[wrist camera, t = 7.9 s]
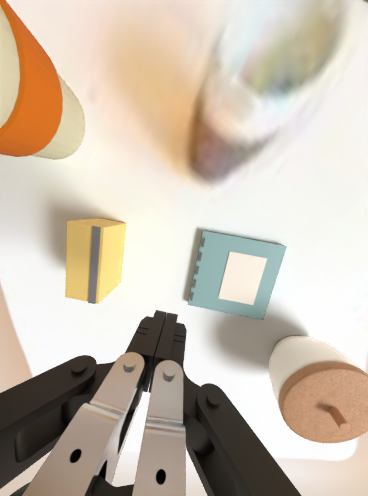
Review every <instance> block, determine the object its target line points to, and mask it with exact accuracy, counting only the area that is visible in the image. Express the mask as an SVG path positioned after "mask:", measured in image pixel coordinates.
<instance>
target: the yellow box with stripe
mask: <svg viewBox="0 0 368 496" xmlns="http://www.w3.org/2000/svg"><path fill="white" fill-rule="evenodd" d="M125 230H126V223H122V222H117V221H112V220H106V219H101V218H93V219H82V220H71V221H67V244H66V291H65V297H68V298H73V299H78V300H83V301H88V303H93V304H95V303H99V302H100V301H101V300H103V299H104V298H105V297H106V296H107V295H108V294H109V293H110V292H111V291H112V290H113V289H114V288H115V287H116V286H117V285H118V284H119V283H120V280H121V270H122V260H123V250H124V240H125Z"/></svg>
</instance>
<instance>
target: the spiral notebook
mask: <svg viewBox="0 0 368 496" xmlns="http://www.w3.org/2000/svg"><path fill="white" fill-rule="evenodd" d="M286 247H287V246H284V245H279V244H274V243H269V242H263V241H258V240H253V239H247V238H242V237H237V236H231V235H226V234H220V233H215V232H210V231H204V230H203V233H202V238H201V242H200V247H199V252H198V257H197V262H196V267H195V272H194V277H193V281H192V286H191V291H190V296H189V301H188V305H192V306H197V307H202V308H207V309H212V310H217V311H222V312H227V313H232V314H237V315H242V316H247V317H252V318H257V319H262V320H263V318H264V315H265V312H266V309H267V306H268V303H269V300H270V297H271V293H272V290H273V287H274V284H275V281H276V278H277V275H278V272H279V269H280V266H281V263H282V260H283V257H284V253H285V250H286Z"/></svg>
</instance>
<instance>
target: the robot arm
mask: <svg viewBox="0 0 368 496" xmlns="http://www.w3.org/2000/svg"><path fill="white" fill-rule="evenodd" d="M166 314H167V316H166ZM177 316H178V315H177V314H172V313H167V312H163V311H158V310H156V312H155V314H154V317H153V318H152V317H148V316H147V317H145V318H144V319H143V320H141V322H140V324H139V326H138V328H137V330H136V333H135V334H134V336H133V338H132V340H131V342H130V344H129V346H128V348H127V350H126V352H125V354H123V355H121V356H120V357H119V358H118V359H117V360H116V361H115V362H112V363H106V364H97V363H96V360H95V359H94V358H93V357H91V356H87V355H83V356H78V357H75V358H73V359H71V360H69V361H67V362H65V363H63V364H61V365H59V366H56V367H54V368H52V369H50V370H48V371H46V372H44V373H42V374H40V375H37V376H35V377H33V378H31V379H29V380H27V381H25V382H23V383H21V384H19V385H16V386H14V387H12V388H10V389H8V390H6V391H4V392H2V393H0V489H1V488H2V487H3V486H5V485H6V484H7V483H9V482H10V481H11V480H13V479H14V478H15V477H17V476H18V475H19V474H21V473H22V472H23V471H25V469H27V468H29V467H30V466H31V465H33V464H34V463H35V462H36V461H38V460H39V459H40V458H41V457H43V456H44V455H46V454H47V453H48V452H50V451H51V450H52V451H51V453H50V454H49V456H48V457H47V459H46V460H45V462H44V463H43V465H42V466H41V468H40V469H39V471H38V472H37V474H36V475H35V477H34V478H33V480H32V481H31V482H30V483H28V484H26V485H24V486H23V487H21V488H20V489H19V490H17V491H16V492H14V493H13V494H12V495H10V496H186V447H187V451H188V453H189V455H190V458H191V460H192V462H193V464H194V466H195V468H196V471H197V473H198V475H199V477H200V480H201V482H202V484H203V486H204V489H205V491H206V493H207V495H208V496H301V495H300V493H299V492H298V491H297V489H296V488H295V486H294V485H293V484H292V482H291V481H290V480H289V478H288V477H287V476H286V475H285V473H284V472H283V470H282V469H281V468H280V467H279V465H278V464H277V463H276V461H275V460H274V458H273V457H272V456H271V454H270V453H269V452H268V450H267V449H266V448H265V446H264V445H263V444H262V442H261V441H260V440H259V438H258V437H257V436H256V434H255V433H254V432H253V430H252V429H251V428H250V426H249V425H248V424H247V422H246V421H245V420H244V418H243V417H242V416H241V414H240V413H239V412H238V410H237V409H236V408H235V406H234V405H233V404H232V402H231V401H230V400H229V398H228V397H227V396H226V394H225V393H224V392H223V391H222V390H221V389H220V388H219V387H218V386H216V385H214V384H204V385H202V386H201V387H200V386H198V385H197V384H195V383H193V382H192V381H191V380H190V379H189V378H188V377H187V376H186V374H185V372H184V369H183V361H184V351H185V341H186V328H185V326H184V324H181V323H176V321H177ZM150 380H151V381H150ZM149 384H150V387H149ZM148 388H149V393H151V395H150V400H149V406H148V411H147V417H146V422H145V428H144V433H143V438H142V444H141V449H140V455H139V460H138V466H137V472H136V478H135V482H134V484H133V485H127V486H121V487H114V486H112V485H111V484H112V481H113V478H114V474H115V470H116V466H117V463H118V460H119V457H120V455H121V452H122V449H123V446H124V444H125V441H126V438H127V436H128V433H129V430H130V427H131V425H132V422H133V419H134V417H135V414H136V411H137V408H138V404H139V402H140V399H141V396H142V392H143V391H145V392H147V391H148Z"/></svg>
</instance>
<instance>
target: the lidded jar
mask: <svg viewBox="0 0 368 496" xmlns="http://www.w3.org/2000/svg"><path fill="white" fill-rule="evenodd" d="M269 375H270V381H271V385H272V388H273V391H274V394H275V397H276V399H277V402H278V404H279V408H280V411H281V414H282V416H283V419H284V421H285V422H286V424H287V425H288V426H289V428H290V429H291V430H293V431H294V432H295V433H296V434H298V435H299V436H301V437H303V438H305V439H308V440H311V441H315V442H320V443H339V442H344V441H348V440H352V439H354V438H356V437H359V436H361V435H363V434H364V433H366V432H367V431H368V375H367V374H366V373H365V372H364V371H362V370H361V369H360V368H359V367H358V366H356V365H355V364H354V363H353V362H352V361H351V360H350V359H349V358H348V357H346V356H345V355H344V354H343V353H341V352H340V351H339V350H337V349H336V348H334V347H332V346H331V345H329V344H327V343H325V342H323V341H321V340H319V339H315V338H311V337H305V336H289V337H286V338H284V339H282V340H280V341H279V342H278V343H277V344H276V346H275V348H274V350H273V352H272V354H271V357H270V361H269Z"/></svg>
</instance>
